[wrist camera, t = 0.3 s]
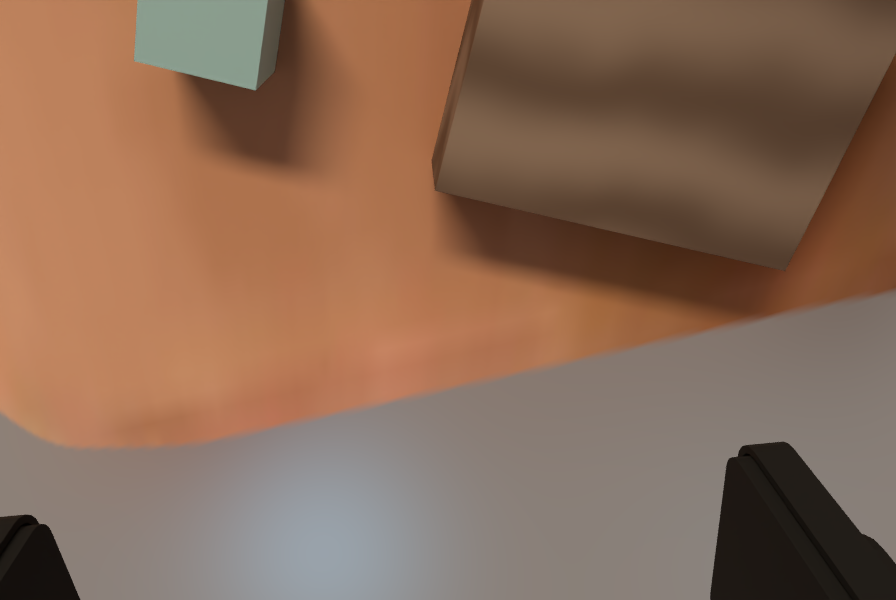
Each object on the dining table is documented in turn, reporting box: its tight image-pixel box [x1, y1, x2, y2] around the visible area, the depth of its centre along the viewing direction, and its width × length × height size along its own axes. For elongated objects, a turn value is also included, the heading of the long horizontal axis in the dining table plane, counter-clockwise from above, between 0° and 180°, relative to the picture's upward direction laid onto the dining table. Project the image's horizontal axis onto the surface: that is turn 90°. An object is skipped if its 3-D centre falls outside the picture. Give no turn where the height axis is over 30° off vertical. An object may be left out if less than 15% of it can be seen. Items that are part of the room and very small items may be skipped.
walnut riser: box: [432, 0, 896, 271], centre depth 33 cm, size 14×18×5 cm
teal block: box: [134, 0, 285, 90], centre depth 31 cm, size 5×5×5 cm
